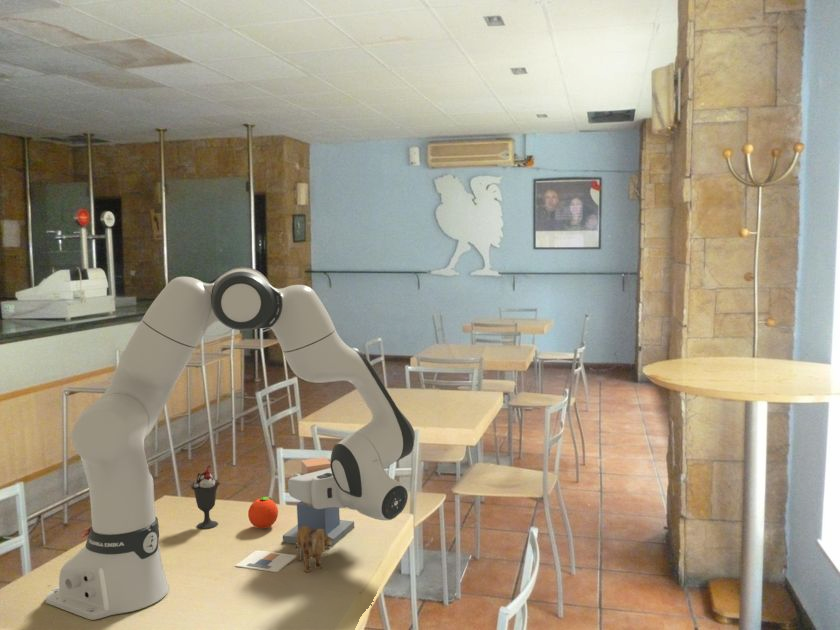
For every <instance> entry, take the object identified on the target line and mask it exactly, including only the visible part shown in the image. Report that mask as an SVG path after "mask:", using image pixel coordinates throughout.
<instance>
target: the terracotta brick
mask: <svg viewBox="0 0 840 630" xmlns="http://www.w3.org/2000/svg"><path fill="white" fill-rule="evenodd" d="M300 462H301V463H300V465H301V473H304V474H308V473H312V472H316V471H320V470H324V469H328V468H331V466H330V465H331V460H328V458H326V457H325V456H324V457H317V458H309V459H302V460H301V461H300ZM307 505H308V506H313V504H309V503H307Z"/></svg>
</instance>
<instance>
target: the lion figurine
mask: <svg viewBox="0 0 840 630" xmlns="http://www.w3.org/2000/svg"><path fill="white" fill-rule="evenodd" d="M332 541H333V539H332V538H330V537H328V535H327V534H325V533H324V530H323V529H316V530H313V531H311V528H310V527H308V526H303V527H301V528H300V529H299V530H298V533H297V544H296V545H295V547H294V548H295V549H296V550H297V551H296V555H297V556H296V558H295V561H300V560H302V555H301V553H302V552H303V561H304V572H305V573H310V572H311V571H312V569H311V568H312V567H311V564H310V559H313V560H314V559H315V560H314V566H315V568H317V569H321V568H323V564H320V560H321V556H322V555H323V554H324V553H325V552H326V548H327V549H331V548H330V545H331V544H332ZM301 549H302V550H303V551H302V550H301Z"/></svg>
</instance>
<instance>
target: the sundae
mask: <svg viewBox="0 0 840 630" xmlns="http://www.w3.org/2000/svg"><path fill="white" fill-rule="evenodd" d="M209 468H211V464H209V465H208V466H207V468H206V470H204V472H202V473H198V474H197V477H196V481H195V482H193V483H191V484H190V489H191V490H193V492H194V495H195V496H194V497H195V501H196V502H195V503H196V505H197V508H198V509H199V510H200V511H201V512H202V513H203V514H204V516H203V517H204V518H203V521H202V522H199V523H198V524H196V528H197V529H199V530H209V529H212V528H215V527H218V525H219V522H218V521H215V520H212V519H211V518H210V512H211V510H213V508H214V507H215V506H216V505H215V504H216V499H217V489H218V487H219V486H220V485H221V484H220V482H219V481H217V480H215V479H214V477H213V475H212V474H211V473H210V470H208V469H209Z"/></svg>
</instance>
